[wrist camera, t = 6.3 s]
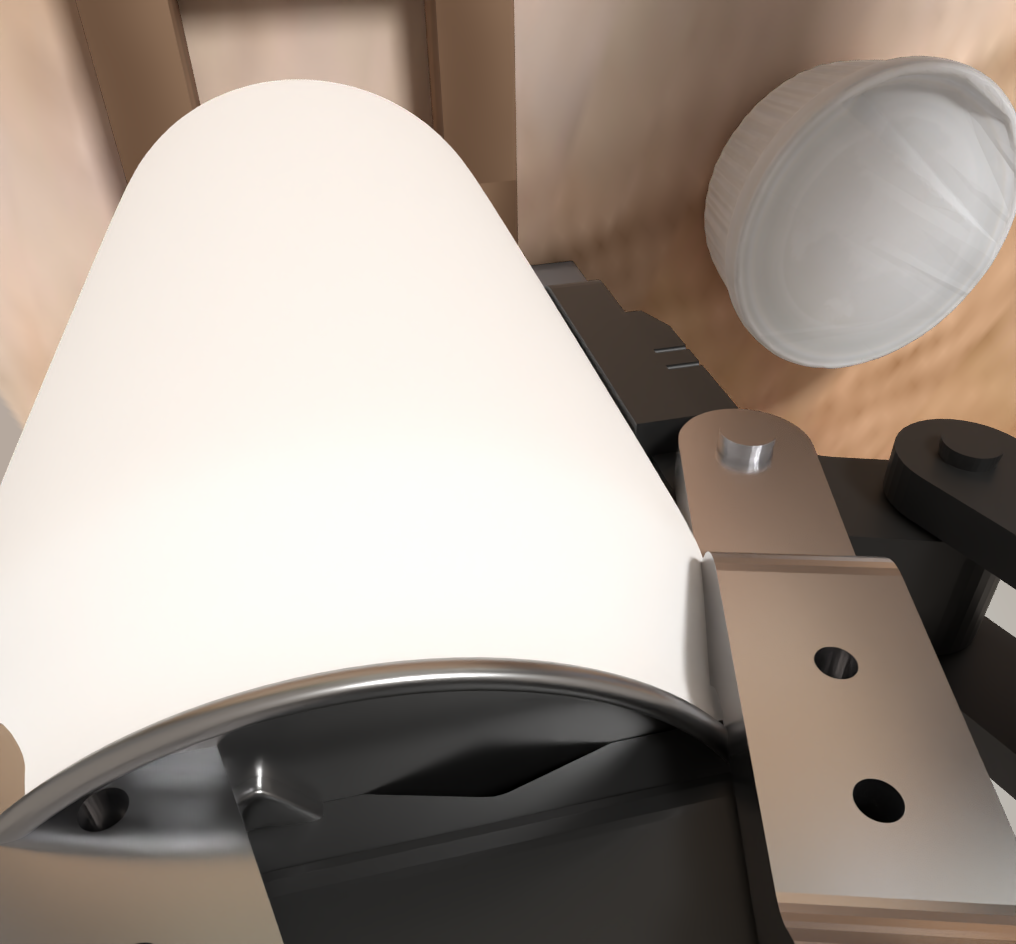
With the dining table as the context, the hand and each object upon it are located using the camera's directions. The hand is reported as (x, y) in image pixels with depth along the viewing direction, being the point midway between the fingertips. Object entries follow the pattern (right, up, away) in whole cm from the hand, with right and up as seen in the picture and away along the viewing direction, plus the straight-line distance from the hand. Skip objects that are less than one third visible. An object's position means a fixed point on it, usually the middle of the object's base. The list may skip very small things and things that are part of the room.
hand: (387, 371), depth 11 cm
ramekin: (+14, +10, +24) cm, 29 cm away
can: (-2, +2, +4) cm, 5 cm away
